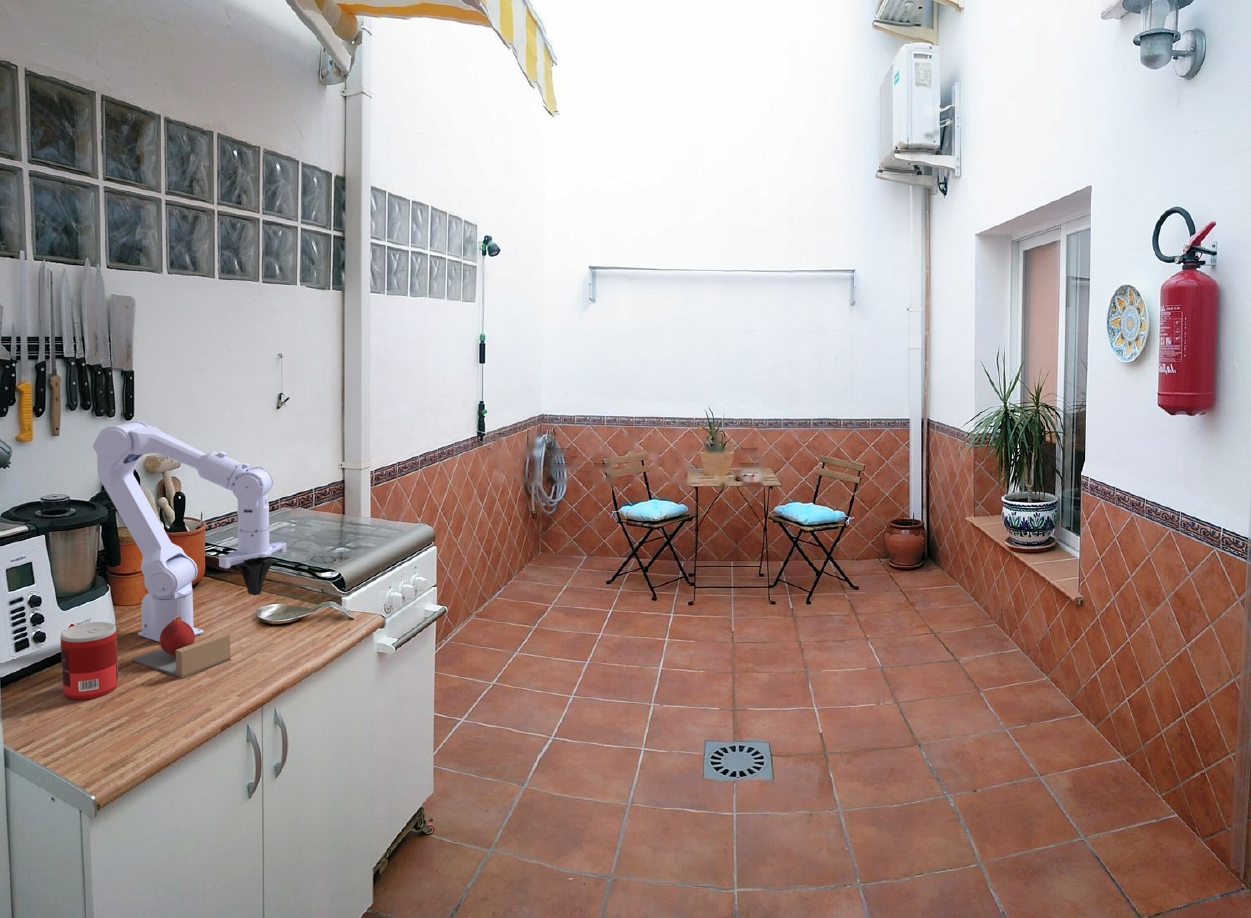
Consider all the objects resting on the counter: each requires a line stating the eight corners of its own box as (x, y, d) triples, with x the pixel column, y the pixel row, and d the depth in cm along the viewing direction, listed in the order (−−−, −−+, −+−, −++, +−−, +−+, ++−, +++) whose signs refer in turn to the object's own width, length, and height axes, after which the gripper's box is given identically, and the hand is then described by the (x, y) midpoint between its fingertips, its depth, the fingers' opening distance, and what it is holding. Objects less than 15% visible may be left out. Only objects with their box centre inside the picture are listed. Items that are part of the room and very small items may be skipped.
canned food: (129, 685, 142) (126, 626, 140) (85, 704, 135) (82, 641, 133) (97, 677, 144) (94, 618, 143) (52, 695, 137) (49, 633, 135)
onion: (179, 664, 150) (178, 623, 149) (152, 660, 151) (151, 619, 150) (201, 653, 156) (201, 613, 155) (175, 649, 157) (174, 609, 156)
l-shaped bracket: (132, 660, 152) (131, 635, 151) (181, 643, 161) (180, 619, 160) (182, 678, 146) (181, 652, 145) (230, 659, 155) (229, 634, 154)
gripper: (236, 539, 154) (237, 607, 156) (296, 524, 167) (297, 588, 169) (211, 533, 157) (212, 600, 159) (272, 519, 170) (273, 581, 172)
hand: (254, 593), depth 164 cm, fingers closed
